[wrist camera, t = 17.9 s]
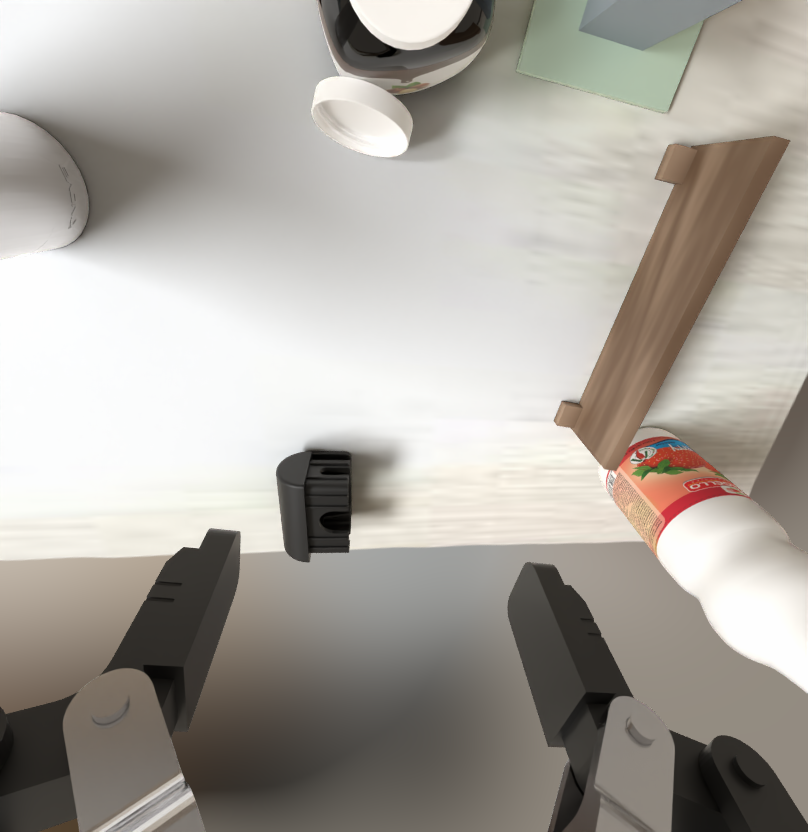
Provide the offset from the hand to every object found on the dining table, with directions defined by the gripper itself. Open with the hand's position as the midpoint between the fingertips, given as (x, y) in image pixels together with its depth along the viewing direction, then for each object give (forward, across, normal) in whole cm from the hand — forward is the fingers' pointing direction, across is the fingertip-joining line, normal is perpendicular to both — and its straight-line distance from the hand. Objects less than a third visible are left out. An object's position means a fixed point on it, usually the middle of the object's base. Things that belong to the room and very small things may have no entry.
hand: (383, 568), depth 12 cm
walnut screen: (+30, -23, -4) cm, 38 cm away
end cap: (+30, +3, +21) cm, 37 cm away
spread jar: (+30, +2, -17) cm, 35 cm away
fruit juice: (+30, -32, +12) cm, 46 cm away
